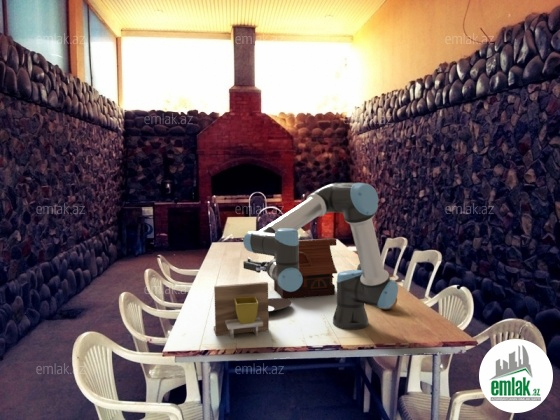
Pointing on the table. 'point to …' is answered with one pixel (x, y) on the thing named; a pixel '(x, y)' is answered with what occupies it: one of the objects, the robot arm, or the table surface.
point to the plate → (278, 303)
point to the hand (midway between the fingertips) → (265, 259)
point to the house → (313, 270)
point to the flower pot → (246, 309)
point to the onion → (392, 305)
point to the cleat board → (227, 313)
